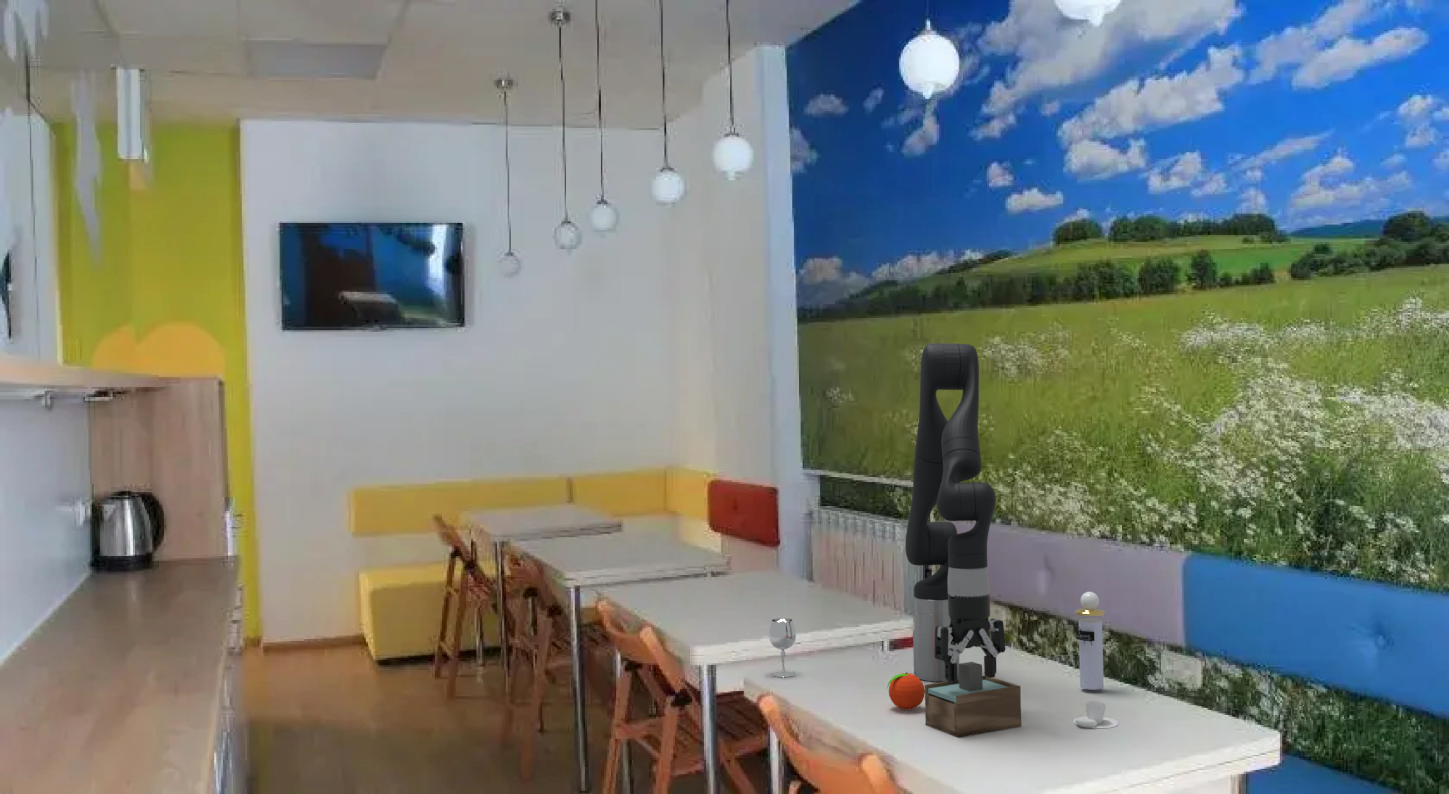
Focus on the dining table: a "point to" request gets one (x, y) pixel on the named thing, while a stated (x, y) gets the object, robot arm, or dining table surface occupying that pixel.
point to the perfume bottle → (1090, 643)
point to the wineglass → (782, 639)
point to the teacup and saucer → (1094, 716)
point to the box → (974, 710)
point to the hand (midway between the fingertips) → (971, 680)
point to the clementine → (906, 691)
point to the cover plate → (956, 691)
